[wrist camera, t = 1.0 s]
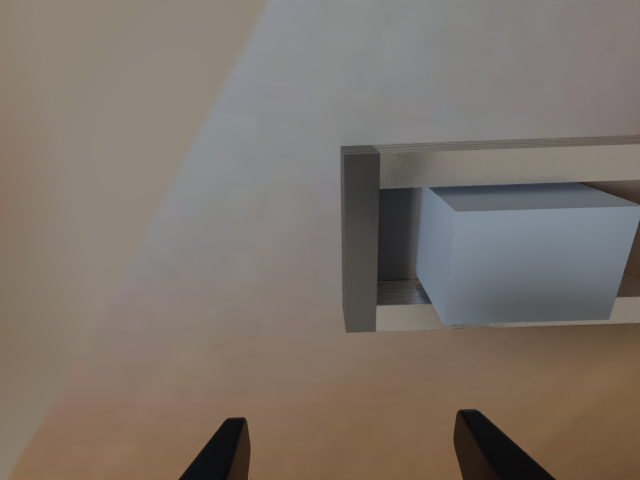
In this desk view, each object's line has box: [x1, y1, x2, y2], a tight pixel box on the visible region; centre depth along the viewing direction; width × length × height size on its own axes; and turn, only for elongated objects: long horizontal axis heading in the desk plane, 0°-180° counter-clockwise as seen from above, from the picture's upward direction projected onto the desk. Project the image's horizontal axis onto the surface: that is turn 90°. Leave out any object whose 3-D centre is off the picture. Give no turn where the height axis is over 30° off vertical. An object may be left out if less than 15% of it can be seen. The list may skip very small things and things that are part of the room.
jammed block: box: [415, 182, 640, 325], centre depth 17 cm, size 7×5×5 cm
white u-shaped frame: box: [341, 136, 640, 333], centre depth 18 cm, size 16×9×2 cm, turn 92°
